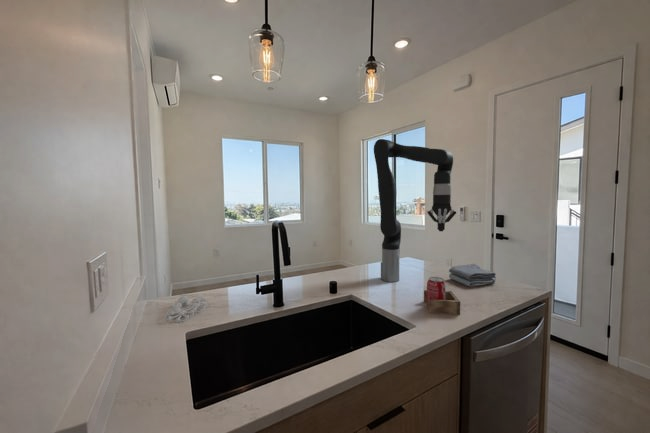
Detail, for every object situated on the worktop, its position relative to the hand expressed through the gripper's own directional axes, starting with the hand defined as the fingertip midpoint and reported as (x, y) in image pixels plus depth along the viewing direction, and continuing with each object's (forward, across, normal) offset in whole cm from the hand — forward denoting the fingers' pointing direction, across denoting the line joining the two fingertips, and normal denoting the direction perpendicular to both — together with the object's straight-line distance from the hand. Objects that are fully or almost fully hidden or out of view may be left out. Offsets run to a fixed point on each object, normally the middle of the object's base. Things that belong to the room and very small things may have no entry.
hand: (441, 231), depth 129 cm
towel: (+30, +21, +19) cm, 41 cm away
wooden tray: (+29, -5, -19) cm, 35 cm away
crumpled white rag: (+30, -105, -37) cm, 116 cm away
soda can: (+29, -6, -20) cm, 36 cm away
